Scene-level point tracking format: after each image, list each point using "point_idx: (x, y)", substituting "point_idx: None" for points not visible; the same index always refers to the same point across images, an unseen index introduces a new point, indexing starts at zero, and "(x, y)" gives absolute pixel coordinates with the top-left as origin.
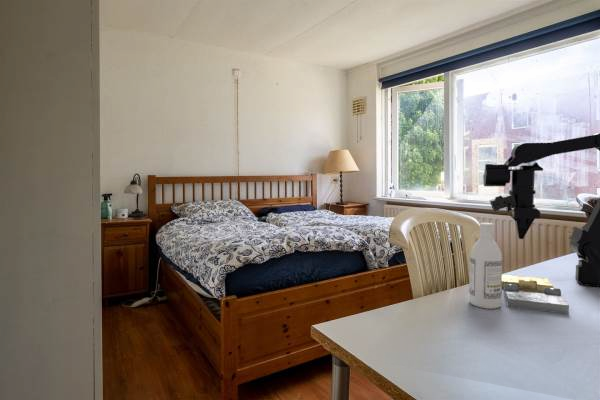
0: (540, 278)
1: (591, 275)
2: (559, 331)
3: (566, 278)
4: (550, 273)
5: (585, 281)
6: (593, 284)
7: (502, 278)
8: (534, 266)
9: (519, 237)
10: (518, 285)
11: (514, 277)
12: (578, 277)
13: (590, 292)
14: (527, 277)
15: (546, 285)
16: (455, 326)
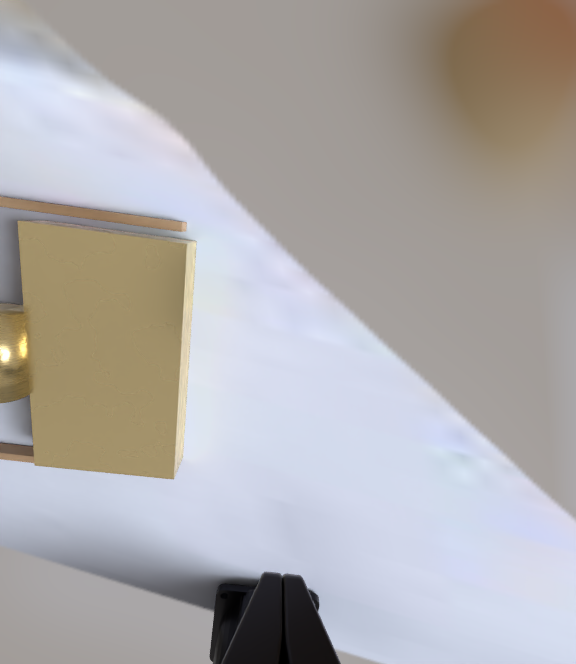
0: (170, 451)
1: (217, 658)
2: None
3: (327, 565)
4: (408, 533)
5: (237, 610)
6: (216, 620)
7: (90, 243)
8: (548, 506)
9: (255, 589)
10: (19, 308)
11: (145, 323)
12: (246, 606)
13: (128, 574)
14: (169, 394)
15: (35, 439)
16: None
